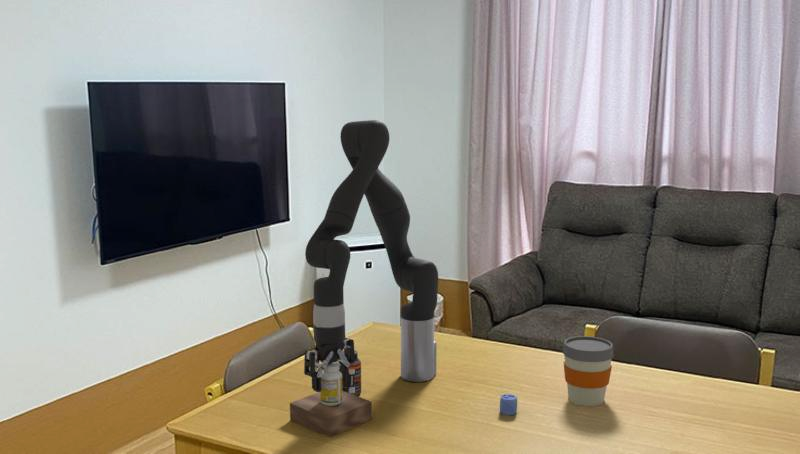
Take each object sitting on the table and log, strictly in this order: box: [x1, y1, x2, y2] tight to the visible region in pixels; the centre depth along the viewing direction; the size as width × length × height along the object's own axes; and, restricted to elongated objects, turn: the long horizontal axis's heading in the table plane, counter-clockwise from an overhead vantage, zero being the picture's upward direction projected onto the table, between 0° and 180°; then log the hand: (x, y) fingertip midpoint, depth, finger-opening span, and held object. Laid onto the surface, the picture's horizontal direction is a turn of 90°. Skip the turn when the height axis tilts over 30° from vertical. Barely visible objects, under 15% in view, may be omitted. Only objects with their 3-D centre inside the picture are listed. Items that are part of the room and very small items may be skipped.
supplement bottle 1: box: [320, 362, 342, 406], centre depth 200 cm, size 5×5×10 cm
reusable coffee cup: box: [562, 335, 614, 407], centre depth 212 cm, size 12×13×15 cm
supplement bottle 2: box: [339, 349, 362, 396], centre depth 217 cm, size 6×6×11 cm
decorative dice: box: [499, 393, 518, 416], centre depth 206 cm, size 4×4×4 cm
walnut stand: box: [289, 391, 373, 438], centre depth 201 cm, size 14×14×4 cm
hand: (330, 386), depth 200 cm, fingers open, 8 cm apart
